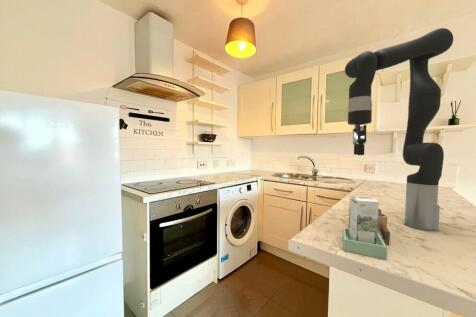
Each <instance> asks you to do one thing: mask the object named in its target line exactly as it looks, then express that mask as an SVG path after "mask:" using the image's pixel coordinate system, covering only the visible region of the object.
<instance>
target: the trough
mask: <svg viewBox="0 0 476 317" xmlns="http://www.w3.org/2000/svg"><path fill="white" fill-rule="evenodd" d="M342 245H343V252H346V253H347V252H348V253H354V254H358V255H362V256H367V257H371V258H377V259H382V260H387V256H388V254H387V253H388V247H387V245H385V243H384V241H383V239H382V238H381V236H380V234H379V233H377V238H376V244H370V243H365V242H359V241H354V240H349V239H348V228H347V227H342Z"/></svg>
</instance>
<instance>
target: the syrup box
mask: <svg viewBox="0 0 476 317" xmlns="http://www.w3.org/2000/svg"><path fill="white" fill-rule="evenodd" d="M379 204H380V203H379V201H378V200H377V199H375V198H374V197H371V196H357V195H354V196H353V195H350V196H349V206H348V207H349V208H348V210H349V211H348V226H347V227H348V239H349V240H354V241H359V242H365V243H370V244H376V238H377V222H378V208H379Z"/></svg>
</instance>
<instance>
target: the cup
mask: <svg viewBox="0 0 476 317" xmlns="http://www.w3.org/2000/svg"><path fill="white" fill-rule="evenodd" d="M380 223H381V224H384V225H385V226H386V227H387V228H388V215H387V213H383V212H381V216H378V222H377V227H378V229H379V231H380Z"/></svg>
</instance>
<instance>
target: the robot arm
mask: <svg viewBox="0 0 476 317" xmlns="http://www.w3.org/2000/svg"><path fill="white" fill-rule="evenodd" d="M453 44H454V34H453V32H452V31H451V30H450V29H448V28H444V27H441V28H436V29H434V30H431V31H429V32H427V33H426V34H424V35H422V36H420V37H418V38H415V39H412V40H410V41H405V42H402V43H399V44H395V45H392V46H388V47H384V48H380V49H378V50H376V51H371V50H366V51H363V52H362V53H359V54H358V55H356V56H355V57H354V58H352V59H350V60H348V62H347V63H346V64H345V68H344V72H345V75H346V76H347V77H348V78H351V79H355V80H354V81H353V82H352V83H351V84H350V85H349V88H348V105H347V125H350V126H354V128H353V129H352V131H351V132H352V144H353V154H354V155H355V156H364V155H365V145H366V143H367V125H368V124H371V123H372V122H373V121H372V119H373V118H372V117H373V116H372V115H373V108H372V107H373V103H372V102H373V101H372V86H373V82H374V80H375V75H376V72H377V71H381V70H384V69H387V68H391V67H394V66H397V65H399V64H402V63H405V62H407V61H409V78H410V80H409V96H408V107H407V109H408V111H407V112H408V114H407V124H406V133H405V139H404V143H403V148H402V158H403V161H404V162H405V164H407V165H409V166H416V167H417V166H418V167H419V168H418V170H417V172H414V173H411V174H408V175H407V176H406V186H405V187H406V188H405V206H404V207H405V208H404V225H406V226H408V227H410V228H414V229H417V230H423V231H438V232H439V228H440V210H441V206H440V205H439V204H438V201H439V200H438V198H439V196H438V195H439V182H440V179H441V178H442V175H443V173H442V172H443V166H444V159H445V158H444V157H445V153H444V152H445V151H444V148H443V147H442V145H441V144H439V143H438V142H424V137H425V132H426V130H427V128H428V126H429V125H430V123H431V122H432V121H433V120H434V119H435V117H436V116H437V115H438V112H439V110H440V108H441V100H442V99H441V97H442V91H441V88H440V86H439V84H438V83H437V82H436V81H435V79H433V78H432V76H431V75H430V73H429V61H430V60H431V59H433V58H435V57H439V56H440V55H441V54H444V53H446V52H447V51H448V50H449V49H450V48H451V47H452V45H453Z"/></svg>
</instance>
